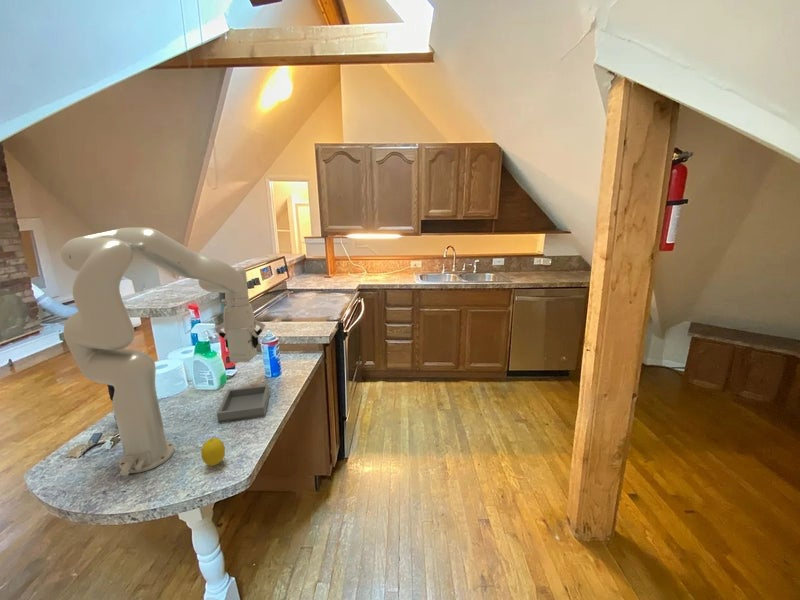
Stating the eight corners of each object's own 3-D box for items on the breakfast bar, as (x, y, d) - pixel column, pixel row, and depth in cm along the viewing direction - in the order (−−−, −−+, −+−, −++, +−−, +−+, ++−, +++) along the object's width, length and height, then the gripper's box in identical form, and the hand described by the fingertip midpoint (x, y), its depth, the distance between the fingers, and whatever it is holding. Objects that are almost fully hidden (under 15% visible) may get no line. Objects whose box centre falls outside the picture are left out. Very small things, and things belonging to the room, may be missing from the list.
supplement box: (249, 362, 129) (245, 328, 126) (229, 362, 129) (225, 328, 127) (257, 354, 136) (254, 323, 134) (238, 354, 137) (235, 323, 134)
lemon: (201, 474, 92) (196, 447, 90) (206, 460, 98) (201, 434, 96) (225, 469, 94) (220, 443, 92) (228, 456, 99) (224, 430, 97)
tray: (264, 416, 118) (263, 407, 117) (218, 423, 115) (216, 413, 114) (269, 393, 133) (268, 384, 132) (229, 398, 130) (227, 389, 129)
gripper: (208, 305, 123) (214, 353, 126) (262, 302, 127) (266, 349, 130) (213, 301, 130) (219, 346, 134) (264, 298, 134) (268, 342, 138)
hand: (242, 347), depth 132 cm, fingers closed on supplement box, 8 cm apart
